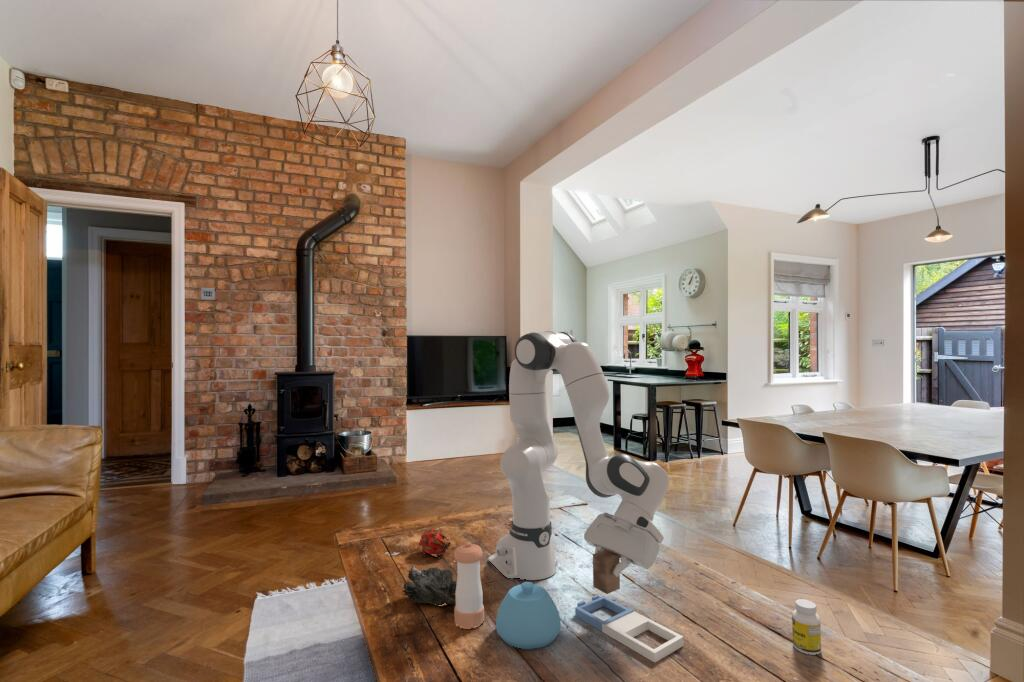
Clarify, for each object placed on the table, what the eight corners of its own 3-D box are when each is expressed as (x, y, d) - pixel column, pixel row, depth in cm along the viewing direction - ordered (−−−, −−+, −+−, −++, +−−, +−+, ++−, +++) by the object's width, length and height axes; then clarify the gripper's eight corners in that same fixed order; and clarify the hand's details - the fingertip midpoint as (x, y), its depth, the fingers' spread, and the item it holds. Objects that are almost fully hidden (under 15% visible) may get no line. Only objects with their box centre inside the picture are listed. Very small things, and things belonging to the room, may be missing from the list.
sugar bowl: (511, 660, 110) (510, 605, 110) (486, 625, 124) (485, 577, 124) (572, 642, 116) (571, 591, 116) (542, 612, 130) (541, 565, 130)
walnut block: (593, 587, 126) (592, 554, 126) (606, 581, 129) (605, 549, 129) (606, 594, 123) (606, 560, 123) (619, 588, 125) (619, 555, 125)
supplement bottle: (787, 642, 115) (786, 598, 115) (810, 640, 115) (809, 596, 116) (803, 656, 110) (801, 610, 110) (827, 655, 110) (826, 608, 110)
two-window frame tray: (573, 614, 128) (573, 604, 128) (601, 602, 134) (601, 592, 134) (654, 662, 108) (654, 651, 108) (683, 645, 114) (683, 634, 114)
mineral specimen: (398, 595, 129) (413, 553, 134) (398, 599, 140) (412, 560, 145) (456, 614, 129) (469, 571, 134) (452, 616, 140) (464, 577, 146)
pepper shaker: (456, 613, 130) (455, 537, 130) (485, 613, 129) (484, 536, 130) (452, 629, 122) (451, 548, 122) (483, 629, 122) (481, 548, 122)
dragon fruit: (424, 552, 172) (446, 568, 164) (407, 544, 167) (430, 559, 159) (437, 529, 175) (460, 543, 167) (422, 520, 170) (445, 534, 162)
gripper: (595, 504, 138) (568, 549, 133) (657, 525, 122) (630, 578, 116) (606, 517, 141) (581, 562, 135) (669, 540, 124) (643, 592, 119)
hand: (604, 570), depth 125 cm, fingers closed on walnut block, 4 cm apart
